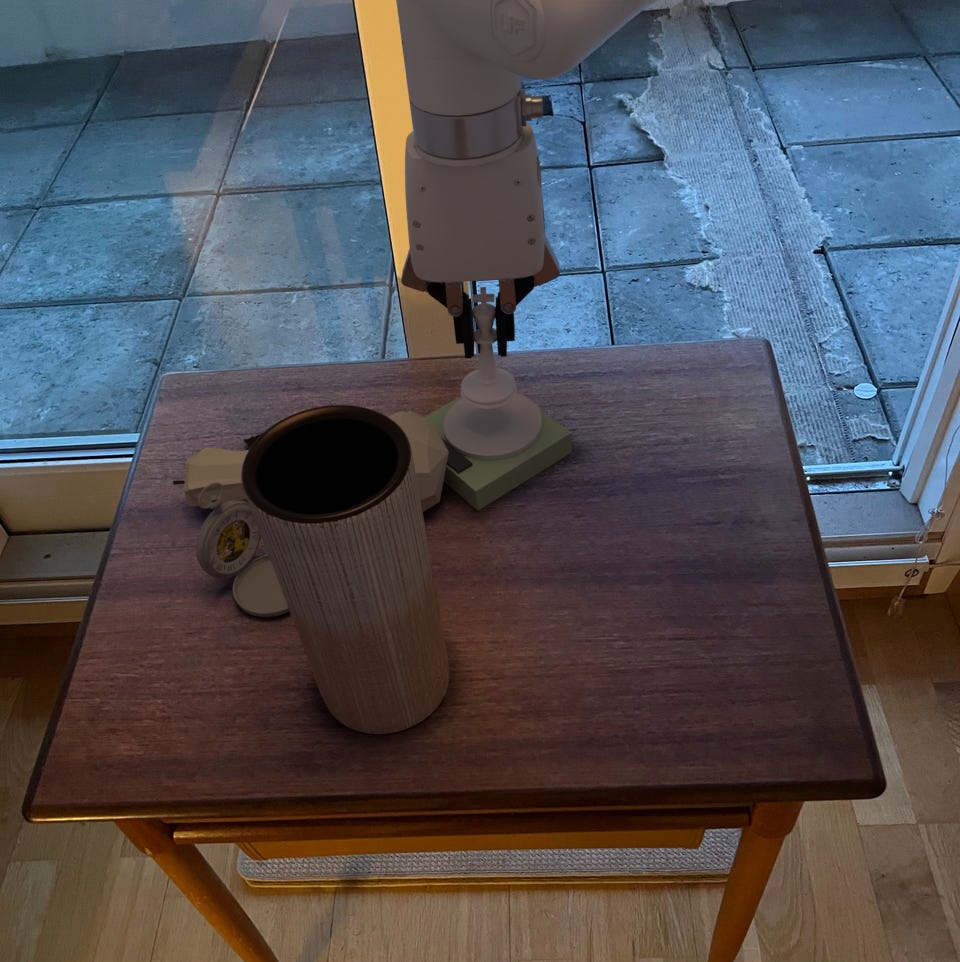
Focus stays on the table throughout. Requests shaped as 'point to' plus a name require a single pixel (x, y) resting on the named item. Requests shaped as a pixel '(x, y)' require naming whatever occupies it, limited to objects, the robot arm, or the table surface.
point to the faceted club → (229, 463)
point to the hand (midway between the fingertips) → (486, 346)
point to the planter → (352, 561)
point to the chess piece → (487, 362)
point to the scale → (497, 446)
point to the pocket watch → (238, 556)
